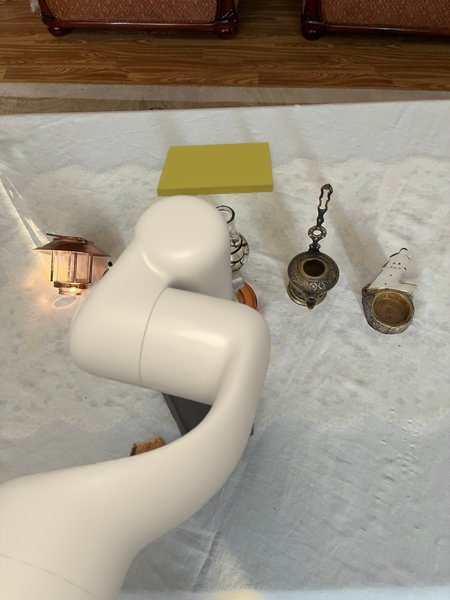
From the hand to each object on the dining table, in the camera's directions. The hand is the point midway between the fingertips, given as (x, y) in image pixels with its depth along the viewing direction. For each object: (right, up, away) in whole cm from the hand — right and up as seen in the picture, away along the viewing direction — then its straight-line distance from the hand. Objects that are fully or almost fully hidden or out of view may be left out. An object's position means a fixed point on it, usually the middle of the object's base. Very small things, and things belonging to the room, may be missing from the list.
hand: (205, 374), depth 65 cm
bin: (-1, -9, +22) cm, 24 cm away
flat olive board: (0, +37, +48) cm, 60 cm away
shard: (-9, -18, +17) cm, 27 cm away
